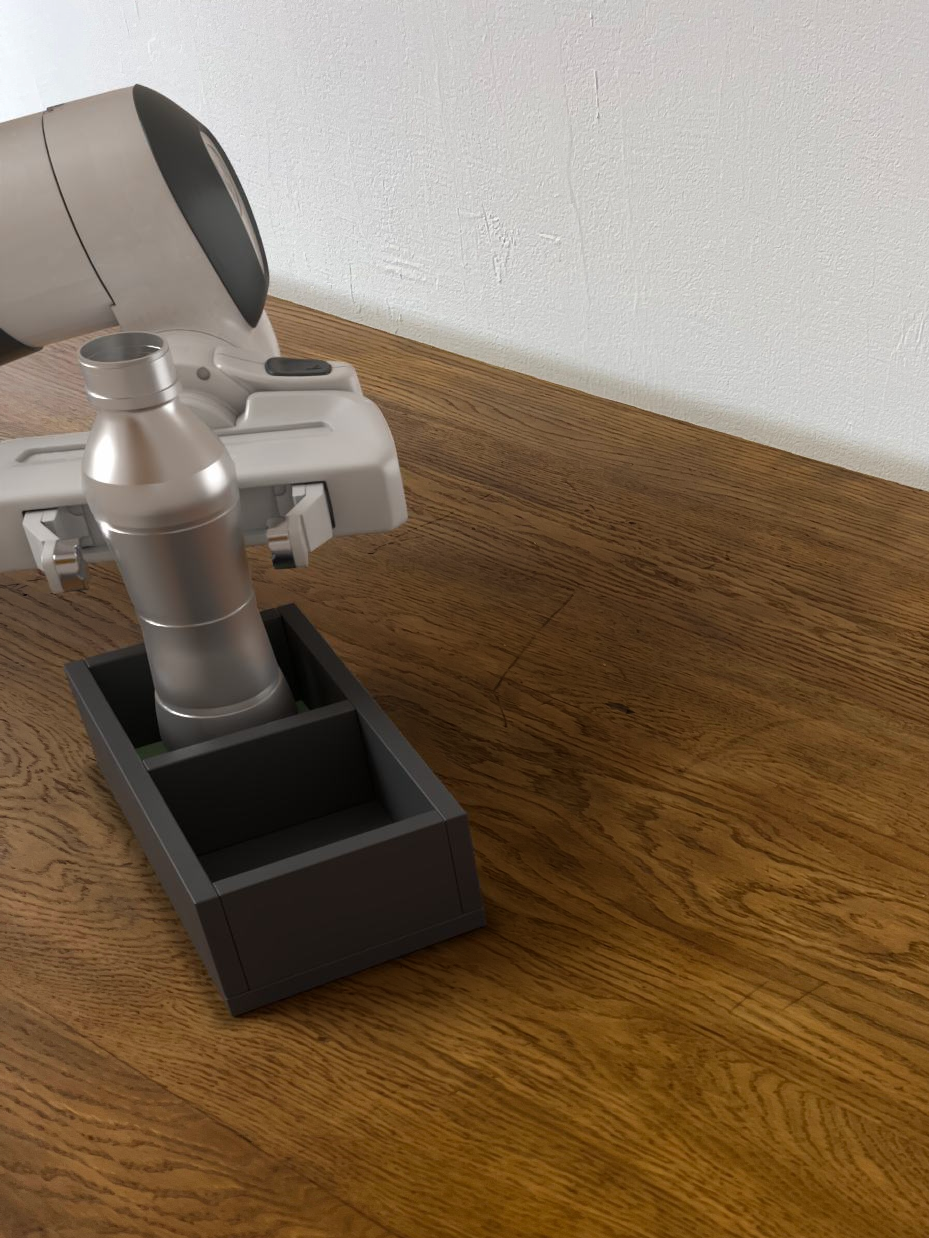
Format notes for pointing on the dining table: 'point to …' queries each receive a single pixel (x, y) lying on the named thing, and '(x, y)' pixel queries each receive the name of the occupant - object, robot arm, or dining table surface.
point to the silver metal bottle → (177, 543)
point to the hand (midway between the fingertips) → (176, 565)
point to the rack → (286, 823)
